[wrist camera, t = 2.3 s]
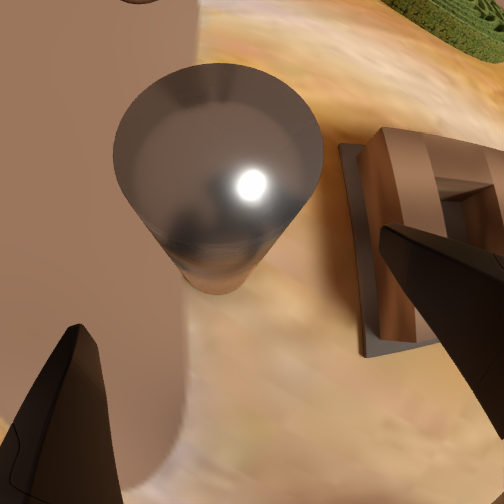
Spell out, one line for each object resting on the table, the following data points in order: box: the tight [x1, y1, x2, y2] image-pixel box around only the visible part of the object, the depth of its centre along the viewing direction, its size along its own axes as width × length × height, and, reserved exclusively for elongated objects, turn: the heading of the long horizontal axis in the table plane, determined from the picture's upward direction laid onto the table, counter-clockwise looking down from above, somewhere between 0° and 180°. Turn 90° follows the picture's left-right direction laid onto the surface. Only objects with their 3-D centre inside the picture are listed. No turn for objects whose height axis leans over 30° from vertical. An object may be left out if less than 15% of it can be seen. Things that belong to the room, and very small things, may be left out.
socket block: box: [338, 127, 504, 358], centre depth 18 cm, size 14×14×4 cm
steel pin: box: [113, 63, 324, 295], centre depth 12 cm, size 4×4×13 cm
